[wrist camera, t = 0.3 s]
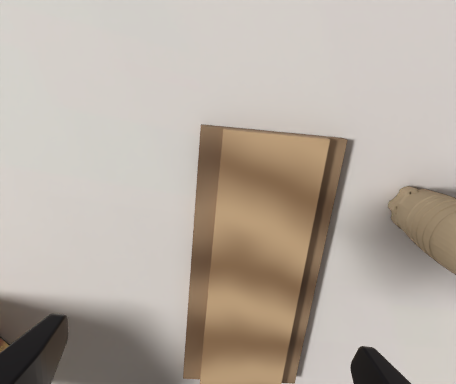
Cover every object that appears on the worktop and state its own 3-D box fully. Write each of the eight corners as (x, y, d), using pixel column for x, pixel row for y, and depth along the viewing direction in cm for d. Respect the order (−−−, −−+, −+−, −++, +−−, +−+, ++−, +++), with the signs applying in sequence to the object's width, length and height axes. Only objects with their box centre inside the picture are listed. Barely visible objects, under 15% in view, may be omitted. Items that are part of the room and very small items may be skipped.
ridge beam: (292, 375, 29) (296, 391, 27) (184, 370, 28) (182, 386, 27) (342, 138, 22) (352, 141, 20) (201, 124, 21) (200, 127, 20)
